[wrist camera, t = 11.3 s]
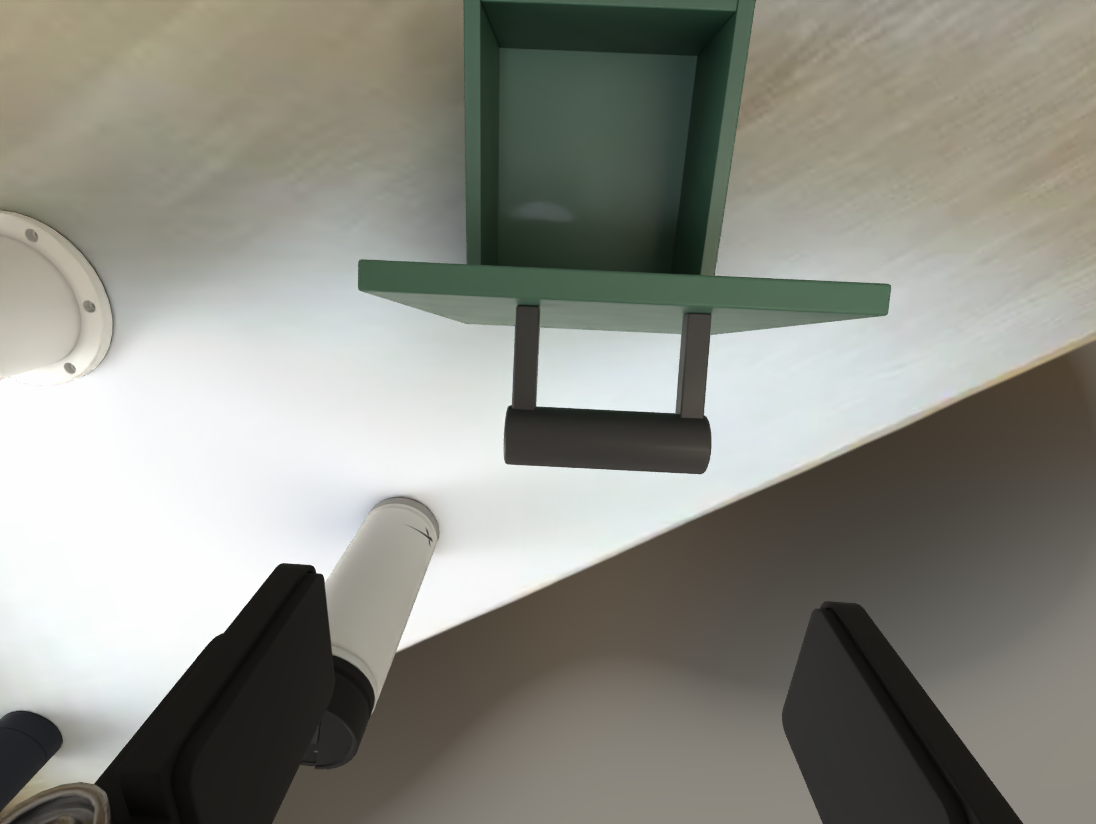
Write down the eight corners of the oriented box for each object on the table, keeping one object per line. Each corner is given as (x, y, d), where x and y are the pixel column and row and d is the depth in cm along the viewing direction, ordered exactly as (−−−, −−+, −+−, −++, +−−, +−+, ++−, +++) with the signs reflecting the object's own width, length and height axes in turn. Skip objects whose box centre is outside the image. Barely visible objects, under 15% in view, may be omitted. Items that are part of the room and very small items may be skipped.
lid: (357, 258, 14) (355, 473, 14) (892, 283, 14) (867, 499, 14) (466, 309, 30) (462, 408, 31) (709, 320, 30) (701, 420, 30)
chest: (488, 35, 33) (463, -21, 25) (709, 45, 33) (757, -9, 25) (487, 291, 39) (467, 315, 30) (676, 300, 38) (706, 326, 30)
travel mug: (446, 502, 45) (363, 712, 26) (432, 565, 47) (347, 799, 29) (372, 484, 45) (235, 685, 26) (362, 549, 47) (230, 775, 28)
